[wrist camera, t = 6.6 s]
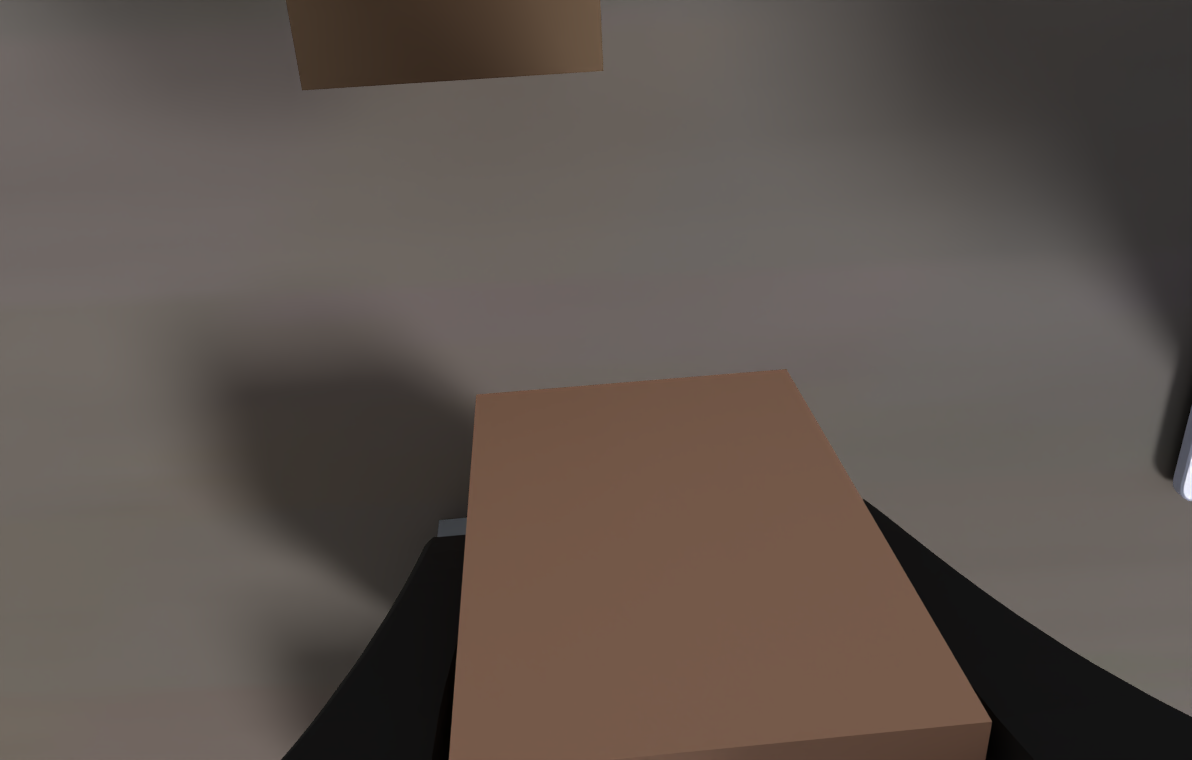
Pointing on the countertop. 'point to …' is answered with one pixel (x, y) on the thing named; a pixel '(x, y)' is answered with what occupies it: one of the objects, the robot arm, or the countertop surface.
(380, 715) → the robot arm
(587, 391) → the terracotta block
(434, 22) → the walnut block
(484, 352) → the countertop surface
